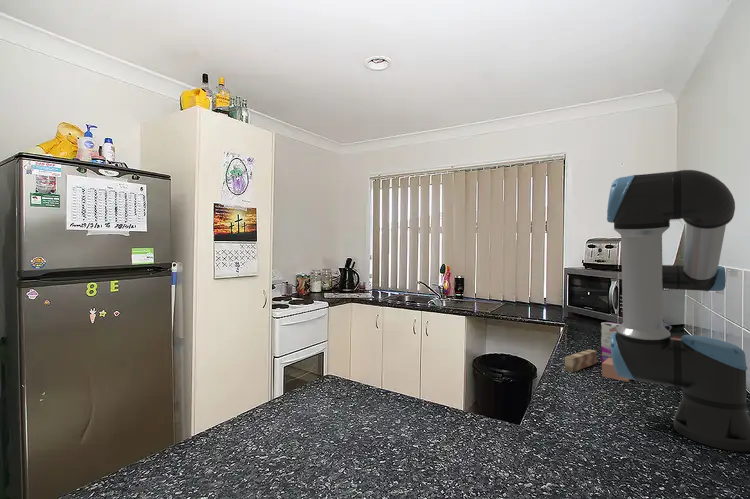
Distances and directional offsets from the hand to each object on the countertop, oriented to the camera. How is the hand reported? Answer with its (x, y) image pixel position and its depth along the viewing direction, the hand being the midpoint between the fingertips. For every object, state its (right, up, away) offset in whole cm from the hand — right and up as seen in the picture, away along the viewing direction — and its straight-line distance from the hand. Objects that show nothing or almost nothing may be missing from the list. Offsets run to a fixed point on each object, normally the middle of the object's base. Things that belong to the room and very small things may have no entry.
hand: (648, 371), depth 128 cm
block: (-6, -4, +7) cm, 10 cm away
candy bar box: (+2, -4, +19) cm, 20 cm away
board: (-13, -4, +18) cm, 23 cm away
